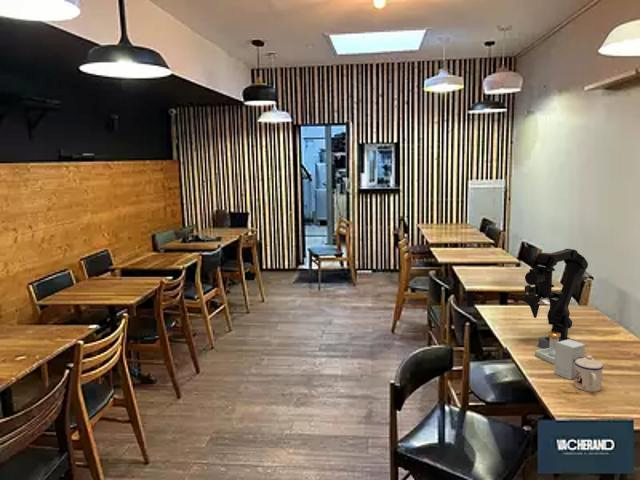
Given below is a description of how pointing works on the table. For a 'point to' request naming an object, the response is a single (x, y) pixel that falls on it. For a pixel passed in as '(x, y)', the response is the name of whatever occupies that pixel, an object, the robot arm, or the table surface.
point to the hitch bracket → (545, 342)
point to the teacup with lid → (588, 374)
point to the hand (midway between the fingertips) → (543, 316)
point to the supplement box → (567, 357)
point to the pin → (553, 342)
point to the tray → (544, 355)
